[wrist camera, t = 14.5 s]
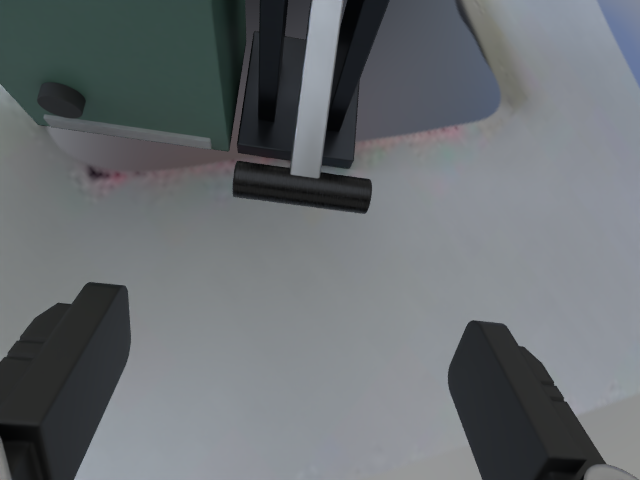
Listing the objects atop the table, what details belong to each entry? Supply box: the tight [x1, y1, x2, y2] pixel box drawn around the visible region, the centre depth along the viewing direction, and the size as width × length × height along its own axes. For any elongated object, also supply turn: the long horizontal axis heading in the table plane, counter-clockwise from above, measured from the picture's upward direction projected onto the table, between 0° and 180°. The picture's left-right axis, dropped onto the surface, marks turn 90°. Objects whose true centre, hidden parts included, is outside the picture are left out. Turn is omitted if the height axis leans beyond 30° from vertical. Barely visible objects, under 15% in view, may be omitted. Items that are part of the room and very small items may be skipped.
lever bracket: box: [237, 0, 389, 169], centre depth 21 cm, size 8×7×16 cm
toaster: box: [0, 0, 246, 151], centre depth 21 cm, size 9×11×13 cm
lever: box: [233, 0, 372, 214], centre depth 16 cm, size 13×5×2 cm, turn 176°
